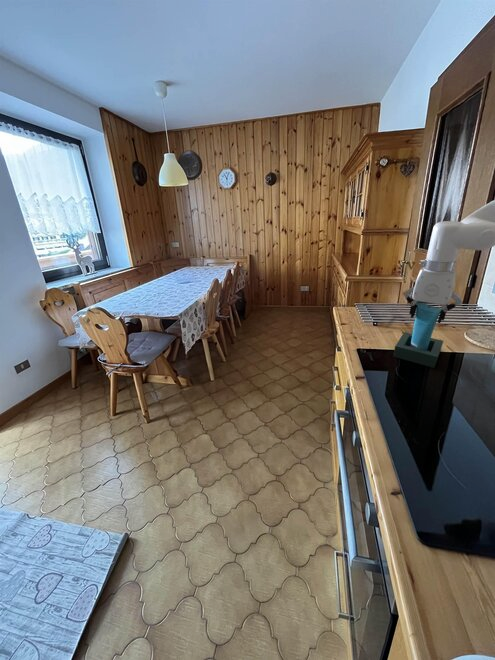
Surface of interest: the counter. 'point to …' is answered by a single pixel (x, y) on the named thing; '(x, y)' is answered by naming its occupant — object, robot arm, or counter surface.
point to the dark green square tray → (418, 351)
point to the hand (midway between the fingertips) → (425, 318)
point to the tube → (424, 325)
